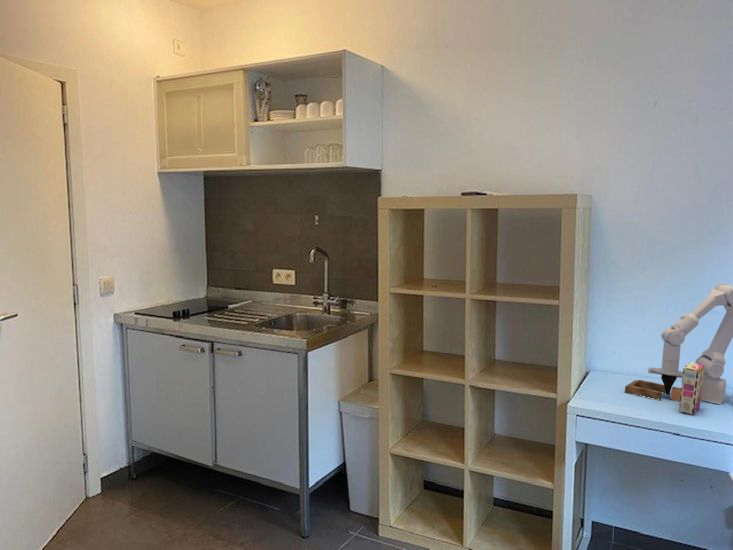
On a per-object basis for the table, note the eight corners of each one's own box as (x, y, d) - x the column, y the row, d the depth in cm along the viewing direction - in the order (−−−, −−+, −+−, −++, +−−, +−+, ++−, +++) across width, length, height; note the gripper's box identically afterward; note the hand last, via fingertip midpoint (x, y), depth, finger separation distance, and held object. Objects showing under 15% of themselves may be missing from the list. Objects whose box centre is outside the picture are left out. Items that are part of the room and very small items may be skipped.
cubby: (669, 393, 231) (670, 386, 231) (660, 400, 223) (660, 392, 223) (635, 386, 240) (635, 378, 240) (624, 392, 232) (625, 385, 231)
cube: (683, 398, 225) (684, 388, 225) (682, 401, 222) (683, 391, 221) (671, 396, 227) (672, 386, 227) (670, 399, 224) (671, 389, 224)
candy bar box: (694, 416, 208) (698, 370, 206) (678, 412, 211) (682, 367, 209) (700, 407, 216) (704, 363, 214) (685, 404, 219) (689, 361, 217)
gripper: (693, 360, 224) (690, 395, 226) (651, 354, 232) (648, 388, 234) (691, 364, 218) (688, 400, 220) (648, 358, 226) (645, 392, 228)
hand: (667, 394), depth 226 cm, fingers closed
